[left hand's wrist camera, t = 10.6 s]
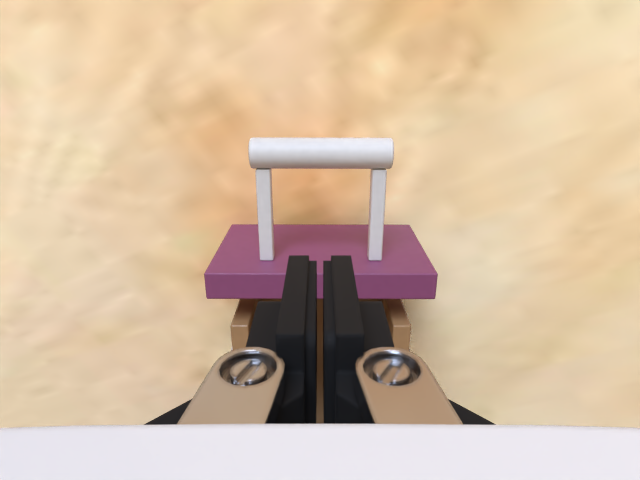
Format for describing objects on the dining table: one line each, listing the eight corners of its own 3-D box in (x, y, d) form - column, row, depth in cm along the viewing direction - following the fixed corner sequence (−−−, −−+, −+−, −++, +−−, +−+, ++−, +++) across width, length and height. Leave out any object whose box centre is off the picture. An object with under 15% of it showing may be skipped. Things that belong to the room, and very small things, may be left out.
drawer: (224, 124, 23) (191, 143, 17) (417, 124, 23) (451, 144, 17) (245, 418, 29) (226, 507, 23) (394, 418, 29) (413, 507, 23)
